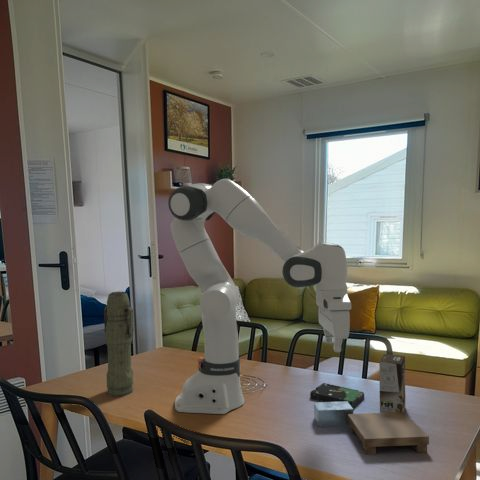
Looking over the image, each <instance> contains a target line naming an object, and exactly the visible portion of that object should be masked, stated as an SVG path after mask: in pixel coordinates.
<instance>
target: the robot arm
mask: <svg viewBox="0 0 480 480" xmlns="http://www.w3.org/2000/svg"><path fill="white" fill-rule="evenodd" d="M167 206H168V209H169V211H170V213H171V214H172V216H173V217H175V218H174V219H173V220H172V221H171V224H170V230H171V231H170V232H171V235H172V238H173V241H174V244H175V248H176V249H177V251H178V254H179V256H180V258H181V260H182V262H183V264H184V266H185V268H186V270H187V272H188V274H189V276H190V278H192V280H193V281H194V282H195V284H196V285H197V286H198V288H199V289H200V291H201V293H202V294H201V296H200V300H199V308H200V316H201V323H202V329H203V338H204V341H203V342H204V345H203V346H204V357H202V356H200V357H198V359H197V363H198V370H197V371H196V372H195V373H194V374H193V375H191V376H190V377H188V378H187V379H186V380H185V382H184V383H183V386H182V389H181V393H179V394H178V395H177V396H176V398H175V401H174V409H175V410H176V412H179V413H191V414H192V413H193V414H213V415H216V414H217V415H225V414H227V413H228V412H230V411H232V410H236V409H238V408H241V406H243V405H244V403H245V398H244V395H243V391H242V386H241V379H240V376H241V370H242V368H241V358H240V357H239V355H240V354H239V333H238V324H237V311H236V310H237V309H236V308H237V306H238V304H239V301H240V292H239V290H238V288H237V285H236V284H235V282H234V280H233V278H232V277H231V275H230V274H229V272H228V270H227V269H226V267H225V266H224V264H223V262H222V260H221V258H220V257H219V254H218V253H217V251H216V249H215V246H214V244H213V243H212V240H211V238H210V237H209V234H208V232H207V230H206V228H205V222H206V221H210V220H211V218H213V216H214V215H215V214H217V215H219V216H220V217H221V218H222V219H223V220H224V221H225V222H226V223H227V224H228V226H230V227H231V228H232V229H233V230H234V231H236V232H237V233H239V234H240V235H241V236H243V237H245V238H249V239H253V240H256V241H258V242H261V243H263V244H265V245H266V247H268V248H269V249H270V250H271V251H272V252H274V253H275V254H276V255H277V256H278V257H279V258H280V259H281V260H282V261H283V262H284V263H283V266H282V277H283V280H284V281H285V282H286V283H287V284H288V285H289V286H291V287H293V288H297V289H298V288H299V289H301V288H306V287H311V286H315V303H316V306H318V318H317V319H318V323H319V325H320V326H321V327H322V329H323V333H324V341H325V343H327V344H332V343H333V340H334V343H333V351H334V352H335V353H341V352H342V344H343V340H346V339H348V338H349V336H350V329H351V328H350V326H351V325H350V323H351V320H350V319H351V317H350V316H351V314H350V311H351V310H352V302H351V300H350V298H349V295H348V286H347V285H348V284H347V281H346V280H347V276H348V275H347V274H348V265H347V263H348V262H347V256H346V255H347V254H346V252H345V250H344V248H343V247H342V246H341V245H339V244H336V243H332V242H326V241H325V242H322V241H321V242H318V243H316V245H314V246H313V247H311V248H309V249H307V250H304V249H301V248H300V247H299V246H297V245H296V244H295V243H294V242H293V241H292V240H291V239H290V238H289V237H287V235H286V234H285V233H284V232H282V231H281V230H280V229H279V228H278V227H277V225H276V224H275V223H274V221H273V220H272V219H271V218H270V216H269V215H268V214H267V212H266V210H265V209H264V208H263V207H262V205H260V203H259V202H258V201H257V200H256V199H255V197H253V196H252V195H251V194H250V193H249V192H248V191H246V190H245V189H244V188H243V187H242V186H241V185H239V183H236V182H235V181H233V180H232V179H230V178H221V179H219V180H217V181H216V182H214V183H210V182H209V183H208V182H203V183H202V182H196V183H192V184H188V185H183V186H179V187H178V188H175V189H174V190H173V191H172V192H171V193H170V195H169V197H168V205H167Z"/></svg>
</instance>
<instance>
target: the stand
mask: <svg viewBox="0 0 480 480" xmlns="http://www.w3.org/2000/svg"><path fill="white" fill-rule="evenodd" d="M348 422H349V426H348V429H349V431H350V432H351V433H352V434H356V436H357V438H359V440H360V441H361V443H362V450H363V452H364V454H365V455H377V454H376V450H377V449H376V447H379V448H380V447H398V446H399V447H401V446H402V447H403V446H404V447H405V446H412V447H413V450H415V451H416V452H417V453H428V446H429V445H430V436H429V435H428V433H426V432H425V431H424V430H423V429H422V428H421V427H420V426H419V425H418V424H417V423H416V422H415V421H414V420H413V419H412V418H411V417H410V416H409V415H408V414H407V413H406V412H405V411H404V412H391V413H380V412H369V413H353V414H348Z"/></svg>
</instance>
